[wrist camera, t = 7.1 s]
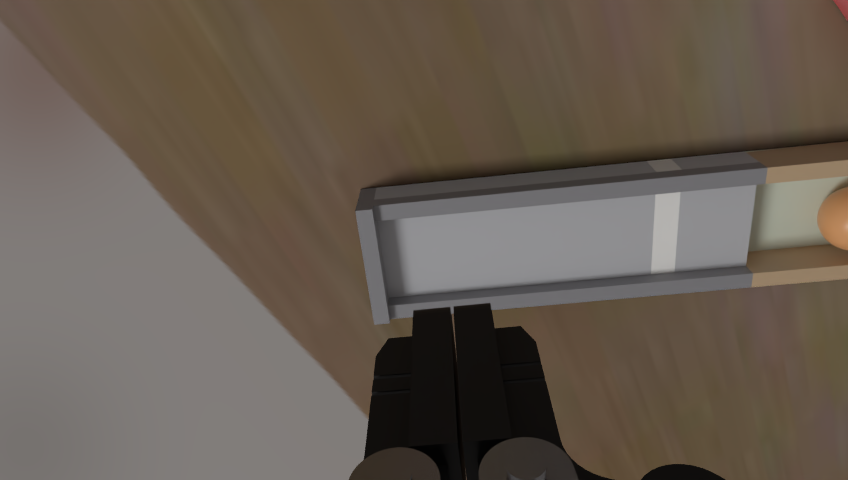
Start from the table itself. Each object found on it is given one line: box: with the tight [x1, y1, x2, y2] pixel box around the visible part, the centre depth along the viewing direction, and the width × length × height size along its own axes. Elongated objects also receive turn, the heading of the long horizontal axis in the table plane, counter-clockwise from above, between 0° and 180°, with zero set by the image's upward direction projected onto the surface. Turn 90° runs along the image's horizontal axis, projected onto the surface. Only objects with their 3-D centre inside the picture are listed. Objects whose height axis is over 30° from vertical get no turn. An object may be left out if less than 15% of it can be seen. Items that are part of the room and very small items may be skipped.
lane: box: [355, 141, 848, 325], centre depth 40 cm, size 8×34×4 cm, turn 96°
